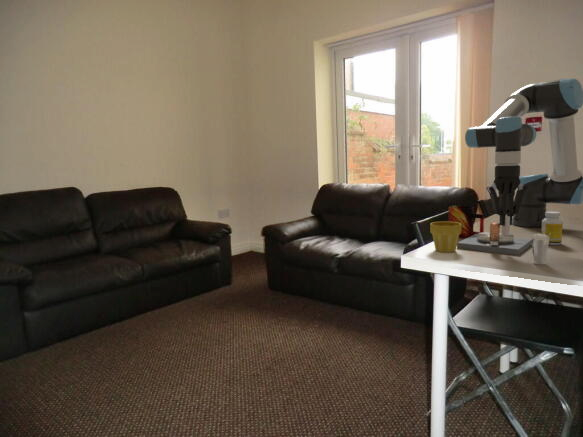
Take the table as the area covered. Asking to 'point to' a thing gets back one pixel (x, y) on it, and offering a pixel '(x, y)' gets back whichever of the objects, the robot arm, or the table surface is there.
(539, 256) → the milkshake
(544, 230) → the pill bottle
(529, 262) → the table surface
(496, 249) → the base plate
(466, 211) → the mug
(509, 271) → the table surface
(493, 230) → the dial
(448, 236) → the plant pot
